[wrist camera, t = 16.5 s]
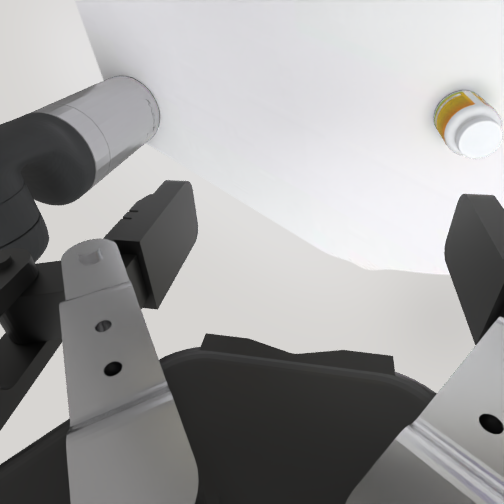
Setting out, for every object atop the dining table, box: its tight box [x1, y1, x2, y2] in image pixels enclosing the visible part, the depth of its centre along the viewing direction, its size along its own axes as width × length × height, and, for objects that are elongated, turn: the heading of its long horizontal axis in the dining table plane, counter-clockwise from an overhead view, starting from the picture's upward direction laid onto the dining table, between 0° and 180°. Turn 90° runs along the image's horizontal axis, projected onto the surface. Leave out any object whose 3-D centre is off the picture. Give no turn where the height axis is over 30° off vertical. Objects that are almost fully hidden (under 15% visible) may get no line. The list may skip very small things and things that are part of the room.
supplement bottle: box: [434, 90, 503, 159], centre depth 42 cm, size 5×5×10 cm
